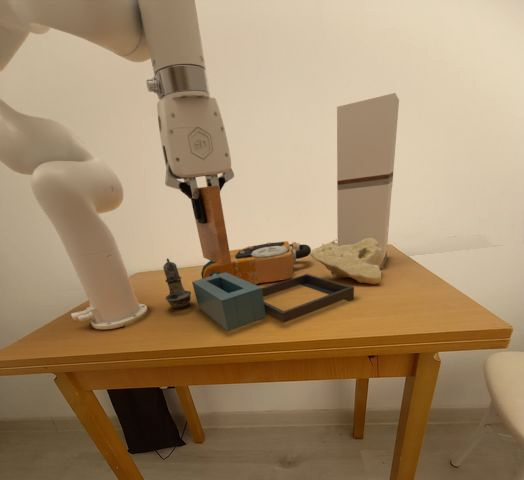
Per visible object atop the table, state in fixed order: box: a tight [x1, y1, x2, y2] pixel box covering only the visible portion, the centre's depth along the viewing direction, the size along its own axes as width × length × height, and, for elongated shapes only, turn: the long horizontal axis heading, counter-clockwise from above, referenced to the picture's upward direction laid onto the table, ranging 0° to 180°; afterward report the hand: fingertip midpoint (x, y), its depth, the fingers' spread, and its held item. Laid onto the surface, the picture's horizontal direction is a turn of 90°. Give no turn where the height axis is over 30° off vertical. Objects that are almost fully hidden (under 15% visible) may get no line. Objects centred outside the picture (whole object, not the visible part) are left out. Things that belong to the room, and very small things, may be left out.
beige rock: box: [309, 238, 384, 285], centre depth 71 cm, size 15×7×15 cm
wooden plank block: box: [194, 185, 231, 266], centre depth 54 cm, size 10×2×12 cm, turn 31°
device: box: [200, 240, 312, 285], centre depth 83 cm, size 23×8×30 cm
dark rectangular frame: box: [261, 273, 355, 323], centre depth 63 cm, size 18×16×3 cm
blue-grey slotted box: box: [191, 272, 267, 332], centre depth 61 cm, size 8×16×7 cm, turn 31°
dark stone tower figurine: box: [162, 257, 192, 310], centre depth 66 cm, size 6×6×12 cm
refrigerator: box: [336, 92, 400, 270], centre depth 73 cm, size 11×11×35 cm
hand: (209, 221), depth 53 cm, fingers closed on wooden plank block, 1 cm apart
